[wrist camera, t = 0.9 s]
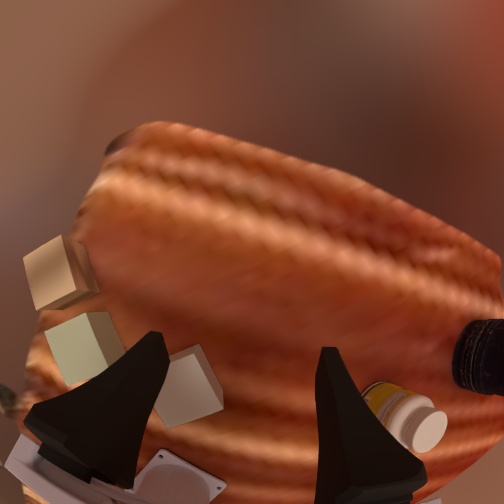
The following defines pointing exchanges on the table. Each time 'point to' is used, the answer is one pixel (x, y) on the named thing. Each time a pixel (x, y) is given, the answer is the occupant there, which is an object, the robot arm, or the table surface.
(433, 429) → the supplement bottle
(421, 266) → the table surface
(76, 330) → the sage block
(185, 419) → the white cube
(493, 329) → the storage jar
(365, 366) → the table surface
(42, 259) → the birch block
